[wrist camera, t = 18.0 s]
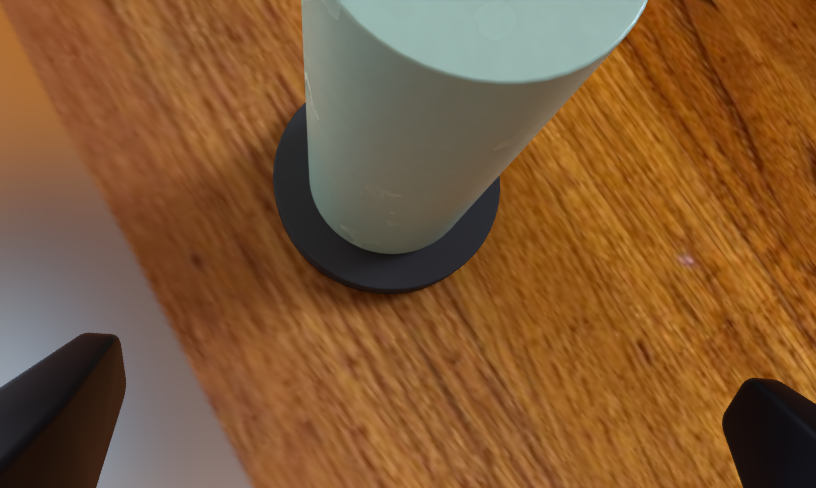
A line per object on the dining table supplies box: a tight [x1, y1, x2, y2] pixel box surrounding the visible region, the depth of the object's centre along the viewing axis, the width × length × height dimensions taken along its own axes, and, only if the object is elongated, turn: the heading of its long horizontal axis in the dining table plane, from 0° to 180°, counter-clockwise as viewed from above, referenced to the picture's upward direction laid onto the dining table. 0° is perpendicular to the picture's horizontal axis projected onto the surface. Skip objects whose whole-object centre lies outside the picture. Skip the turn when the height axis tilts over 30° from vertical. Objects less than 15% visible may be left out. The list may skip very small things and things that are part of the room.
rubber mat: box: [273, 102, 500, 294], centre depth 21 cm, size 8×8×1 cm
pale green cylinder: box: [301, 0, 648, 254], centre depth 15 cm, size 6×6×12 cm
